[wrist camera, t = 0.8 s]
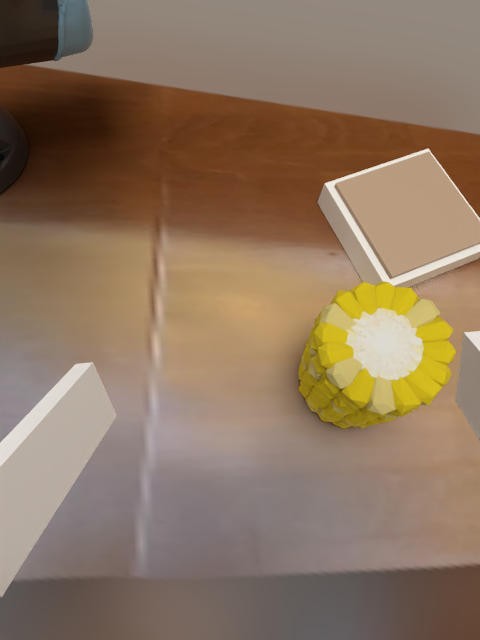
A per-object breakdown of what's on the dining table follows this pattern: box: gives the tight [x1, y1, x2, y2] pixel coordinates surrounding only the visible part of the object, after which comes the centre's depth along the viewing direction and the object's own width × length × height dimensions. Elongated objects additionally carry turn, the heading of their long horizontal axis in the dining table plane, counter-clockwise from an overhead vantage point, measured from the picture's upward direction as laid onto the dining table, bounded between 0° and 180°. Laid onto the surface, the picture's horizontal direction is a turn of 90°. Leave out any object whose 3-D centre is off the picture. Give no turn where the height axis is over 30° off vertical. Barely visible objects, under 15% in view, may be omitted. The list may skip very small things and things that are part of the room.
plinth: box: [317, 149, 480, 288], centre depth 40 cm, size 14×14×4 cm
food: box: [298, 281, 456, 429], centre depth 29 cm, size 15×12×10 cm
